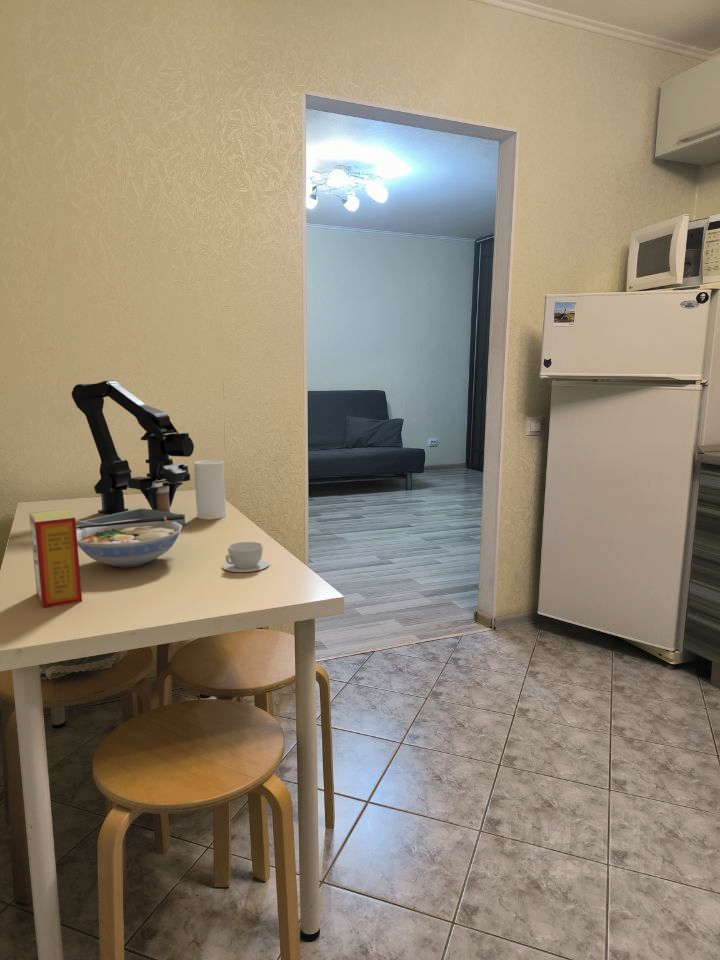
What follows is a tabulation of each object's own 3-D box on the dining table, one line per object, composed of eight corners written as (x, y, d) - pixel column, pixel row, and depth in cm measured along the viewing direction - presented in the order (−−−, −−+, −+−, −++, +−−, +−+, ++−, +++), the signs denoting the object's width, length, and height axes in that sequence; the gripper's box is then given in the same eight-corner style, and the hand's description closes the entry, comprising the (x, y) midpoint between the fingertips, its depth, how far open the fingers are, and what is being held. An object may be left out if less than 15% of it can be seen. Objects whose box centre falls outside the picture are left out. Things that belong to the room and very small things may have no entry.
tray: (79, 532, 173) (79, 521, 172) (141, 518, 189) (140, 508, 189) (125, 541, 163) (124, 529, 163) (185, 525, 180) (184, 514, 180)
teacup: (249, 558, 148) (248, 538, 147) (279, 566, 141) (278, 545, 141) (212, 568, 140) (211, 547, 140) (242, 577, 134) (241, 555, 133)
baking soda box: (36, 593, 125) (29, 511, 122) (73, 587, 128) (66, 507, 126) (43, 608, 117) (34, 520, 114) (82, 601, 120) (75, 515, 118)
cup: (229, 513, 195) (227, 460, 192) (220, 519, 187) (218, 463, 184) (202, 513, 196) (199, 460, 193) (192, 519, 188) (189, 463, 185)
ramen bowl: (67, 585, 129) (63, 545, 128) (70, 556, 150) (67, 521, 149) (196, 570, 139) (194, 532, 137) (182, 544, 159) (180, 511, 158)
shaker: (150, 515, 193) (148, 487, 191) (163, 512, 197) (161, 484, 195) (161, 517, 190) (159, 488, 189) (174, 514, 194) (172, 486, 193)
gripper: (152, 461, 179) (155, 517, 181) (202, 453, 194) (204, 505, 197) (125, 458, 184) (128, 513, 187) (175, 451, 200) (178, 502, 203)
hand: (161, 508), depth 193 cm, fingers open, 5 cm apart
